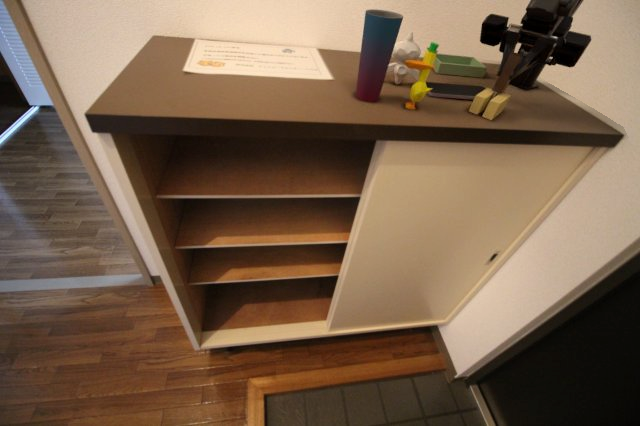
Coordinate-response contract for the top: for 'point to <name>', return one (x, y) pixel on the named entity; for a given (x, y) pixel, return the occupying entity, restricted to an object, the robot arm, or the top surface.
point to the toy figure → (421, 74)
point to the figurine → (404, 58)
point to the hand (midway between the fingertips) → (503, 76)
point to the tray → (458, 65)
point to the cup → (376, 51)
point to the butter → (489, 103)
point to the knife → (506, 73)
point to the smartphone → (453, 90)
